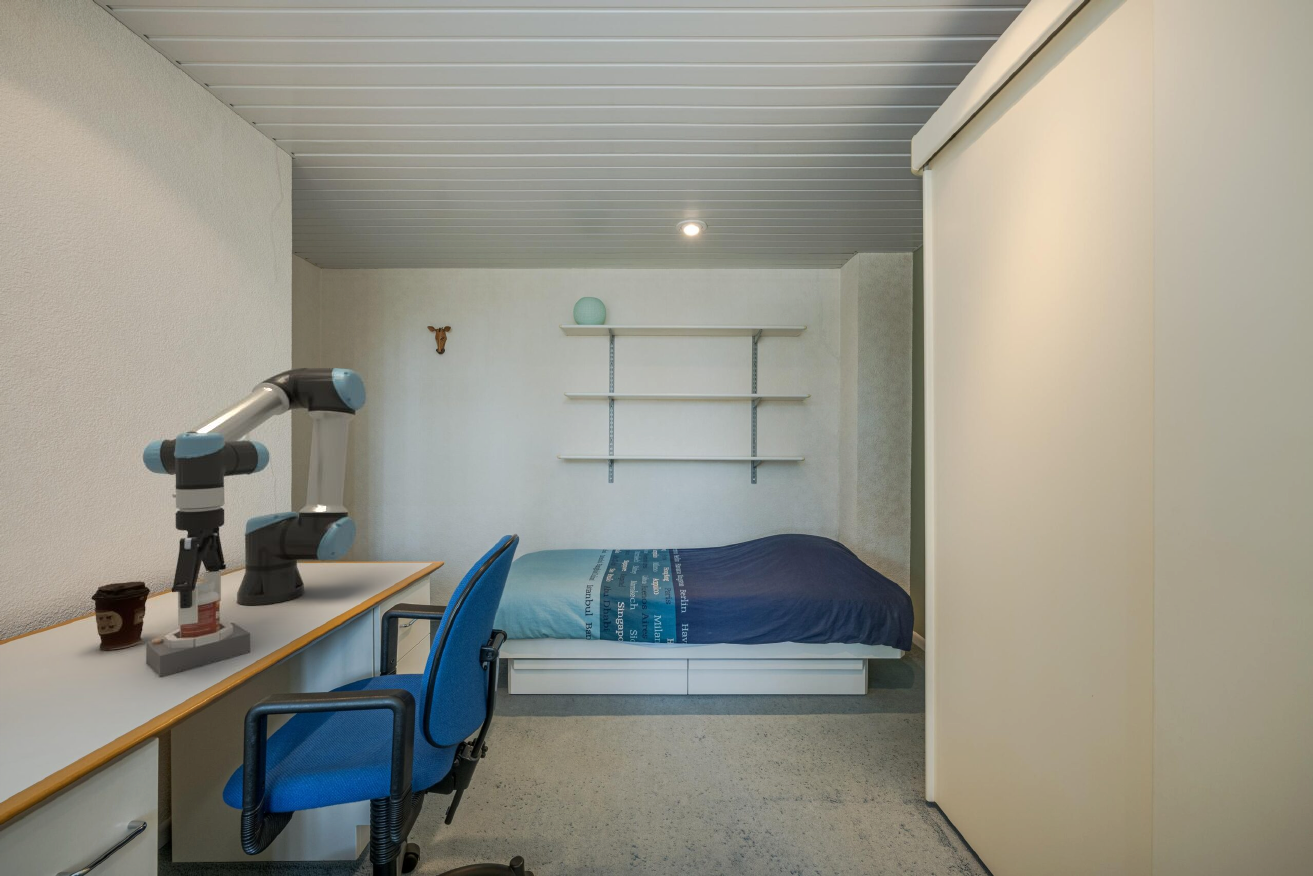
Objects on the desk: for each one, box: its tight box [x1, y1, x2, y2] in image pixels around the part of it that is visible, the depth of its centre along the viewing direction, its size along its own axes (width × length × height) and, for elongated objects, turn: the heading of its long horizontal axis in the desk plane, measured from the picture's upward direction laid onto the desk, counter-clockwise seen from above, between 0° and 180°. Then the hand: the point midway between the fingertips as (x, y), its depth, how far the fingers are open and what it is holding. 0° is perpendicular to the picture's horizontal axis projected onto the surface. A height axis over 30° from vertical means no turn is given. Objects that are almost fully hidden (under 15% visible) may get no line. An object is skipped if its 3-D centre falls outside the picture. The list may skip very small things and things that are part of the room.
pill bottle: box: [179, 580, 221, 638], centre depth 107 cm, size 6×6×11 cm
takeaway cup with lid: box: [90, 581, 151, 651], centre depth 113 cm, size 9×8×13 cm
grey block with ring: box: [145, 621, 251, 678], centre depth 107 cm, size 14×10×6 cm
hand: (201, 612), depth 107 cm, fingers open, 13 cm apart
